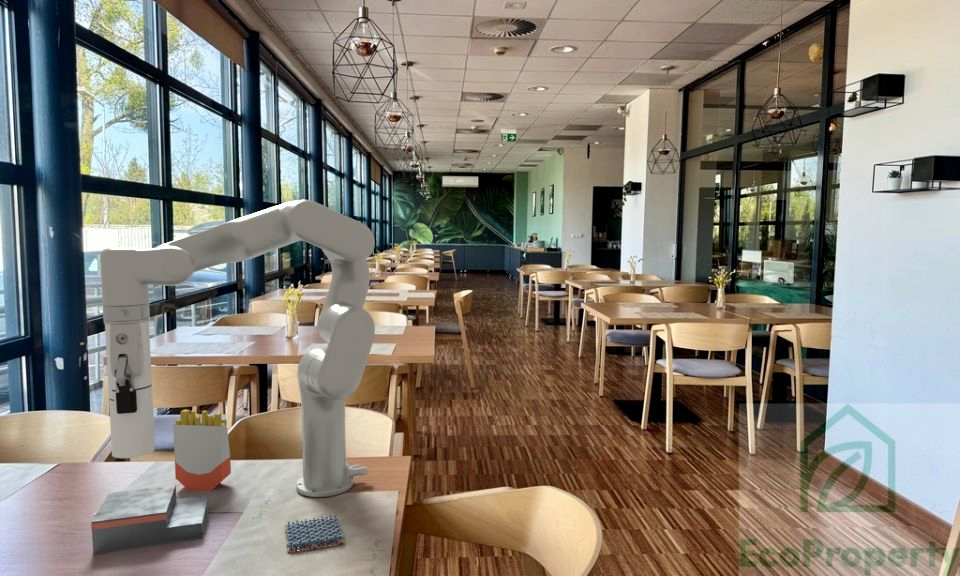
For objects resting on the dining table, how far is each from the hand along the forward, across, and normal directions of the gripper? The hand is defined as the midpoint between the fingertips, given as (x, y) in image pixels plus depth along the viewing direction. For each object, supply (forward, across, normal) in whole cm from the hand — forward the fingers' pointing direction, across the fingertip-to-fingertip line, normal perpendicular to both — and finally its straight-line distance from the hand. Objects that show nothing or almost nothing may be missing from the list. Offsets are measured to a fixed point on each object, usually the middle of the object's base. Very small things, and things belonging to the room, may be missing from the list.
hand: (131, 406), depth 116 cm
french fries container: (+25, +20, -10) cm, 33 cm away
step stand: (+25, 0, -3) cm, 25 cm away
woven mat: (+26, -12, -32) cm, 43 cm away
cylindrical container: (+9, 0, 0) cm, 9 cm away
